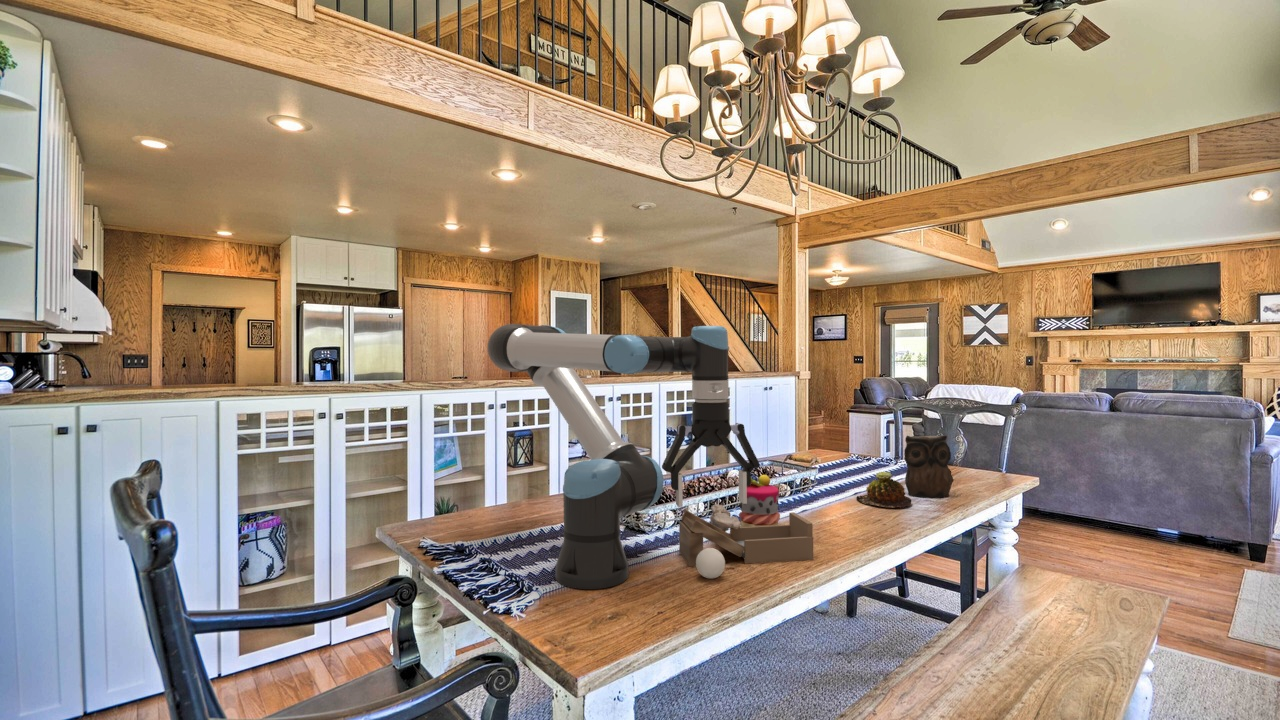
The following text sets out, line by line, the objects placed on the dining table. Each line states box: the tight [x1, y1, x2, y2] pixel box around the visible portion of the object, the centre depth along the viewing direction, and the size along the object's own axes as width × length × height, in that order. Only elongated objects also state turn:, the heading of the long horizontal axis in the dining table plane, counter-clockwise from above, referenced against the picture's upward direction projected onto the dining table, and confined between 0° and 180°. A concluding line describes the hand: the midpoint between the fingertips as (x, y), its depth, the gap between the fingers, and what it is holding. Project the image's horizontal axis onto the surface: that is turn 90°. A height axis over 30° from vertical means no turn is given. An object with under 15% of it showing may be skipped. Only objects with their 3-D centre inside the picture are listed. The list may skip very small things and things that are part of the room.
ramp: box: [678, 509, 745, 567], centre depth 136 cm, size 13×10×10 cm
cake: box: [738, 474, 781, 527], centre depth 159 cm, size 10×11×15 cm
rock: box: [709, 503, 741, 532], centre depth 147 cm, size 6×14×7 cm, turn 4°
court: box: [729, 512, 814, 565], centre depth 138 cm, size 16×11×8 cm, turn 100°
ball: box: [695, 547, 726, 580], centre depth 123 cm, size 6×6×6 cm
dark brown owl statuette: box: [903, 434, 954, 499], centre depth 198 cm, size 13×13×20 cm
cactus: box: [856, 471, 912, 509], centre depth 188 cm, size 17×16×10 cm
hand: (711, 504), depth 123 cm, fingers open, 13 cm apart
